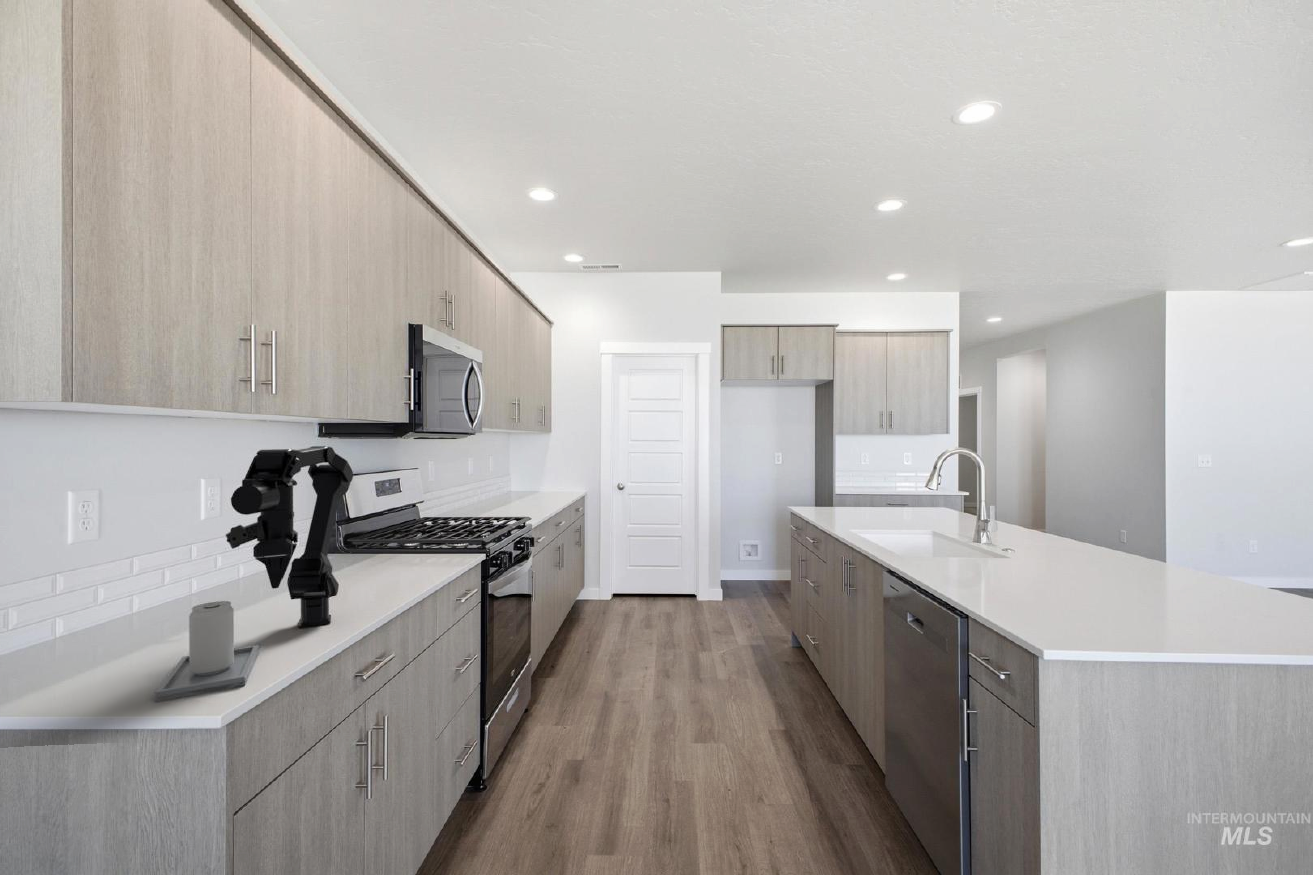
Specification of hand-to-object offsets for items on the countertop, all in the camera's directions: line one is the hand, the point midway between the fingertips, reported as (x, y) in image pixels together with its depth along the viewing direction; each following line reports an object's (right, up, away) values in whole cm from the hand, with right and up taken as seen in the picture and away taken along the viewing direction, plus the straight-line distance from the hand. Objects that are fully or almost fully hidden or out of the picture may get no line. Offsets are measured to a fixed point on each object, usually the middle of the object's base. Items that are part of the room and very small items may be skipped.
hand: (277, 583), depth 118 cm
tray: (-2, -13, -15) cm, 20 cm away
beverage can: (-2, -12, -15) cm, 19 cm away
